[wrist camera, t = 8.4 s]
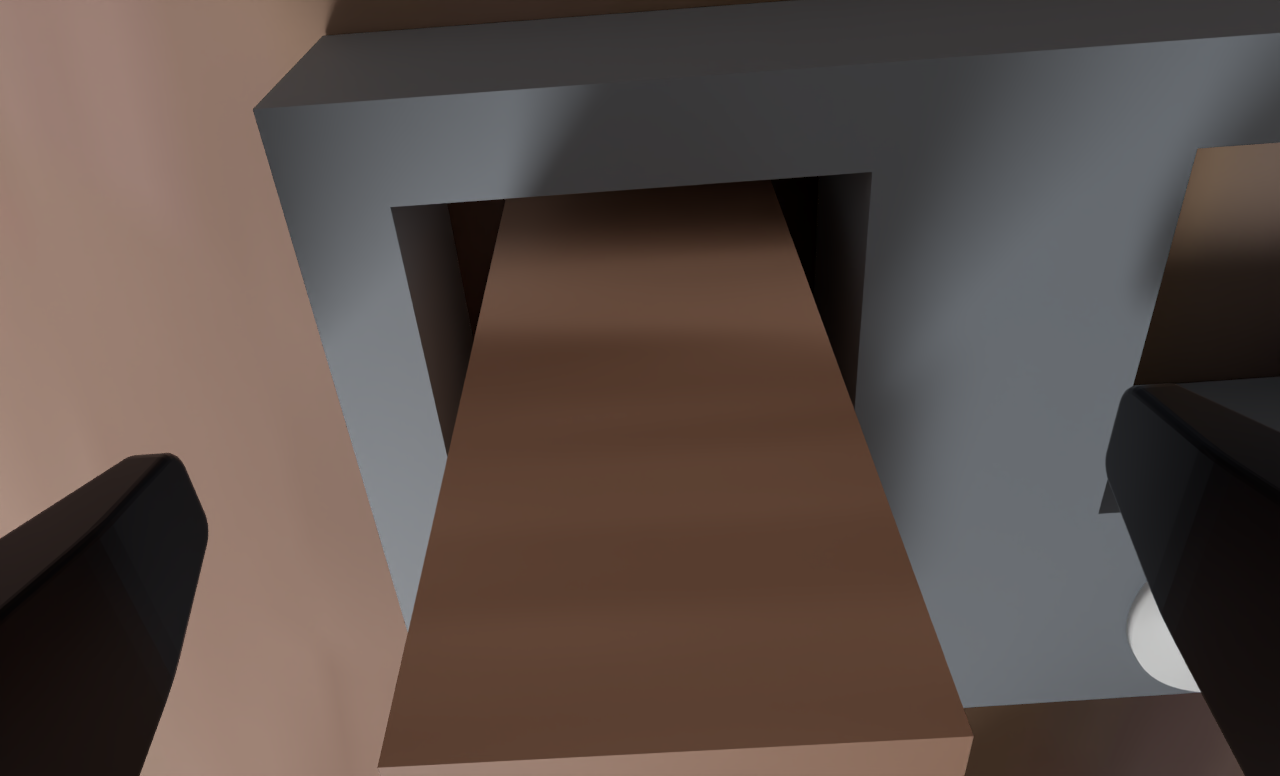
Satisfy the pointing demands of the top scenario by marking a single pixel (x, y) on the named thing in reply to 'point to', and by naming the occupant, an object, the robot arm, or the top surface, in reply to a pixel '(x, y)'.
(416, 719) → the brown wooden block
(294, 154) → the board
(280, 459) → the top surface
